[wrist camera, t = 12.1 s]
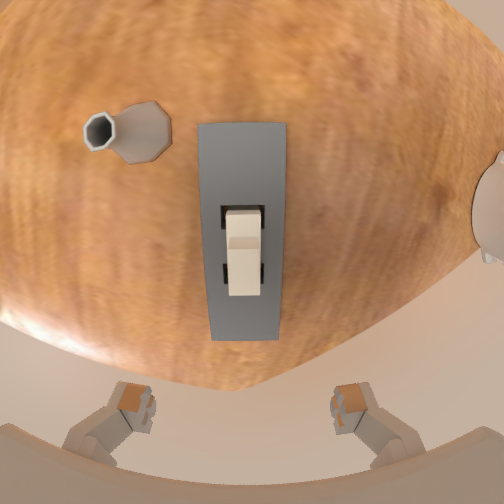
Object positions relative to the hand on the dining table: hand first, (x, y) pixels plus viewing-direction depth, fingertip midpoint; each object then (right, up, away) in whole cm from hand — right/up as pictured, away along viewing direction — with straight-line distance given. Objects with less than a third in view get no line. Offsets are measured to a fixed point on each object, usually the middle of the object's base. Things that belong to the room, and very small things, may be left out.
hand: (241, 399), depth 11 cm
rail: (0, +8, +20) cm, 22 cm away
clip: (0, +8, +20) cm, 22 cm away
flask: (-12, +19, +16) cm, 28 cm away
